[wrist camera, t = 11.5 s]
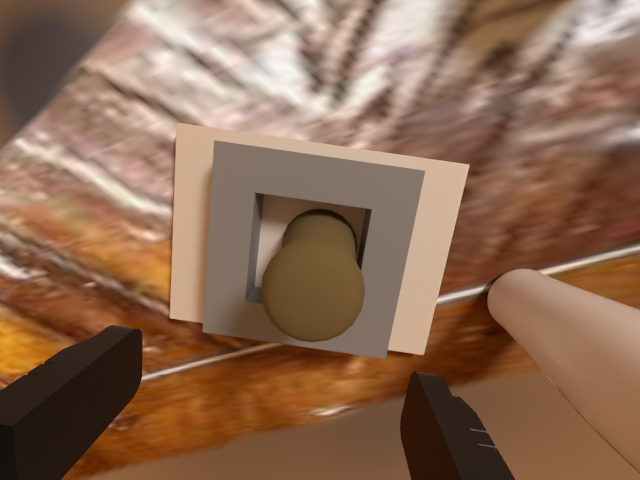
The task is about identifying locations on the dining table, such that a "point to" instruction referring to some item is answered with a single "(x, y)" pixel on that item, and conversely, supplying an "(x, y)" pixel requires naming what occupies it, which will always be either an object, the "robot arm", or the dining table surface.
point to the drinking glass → (578, 349)
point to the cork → (314, 278)
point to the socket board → (283, 206)
